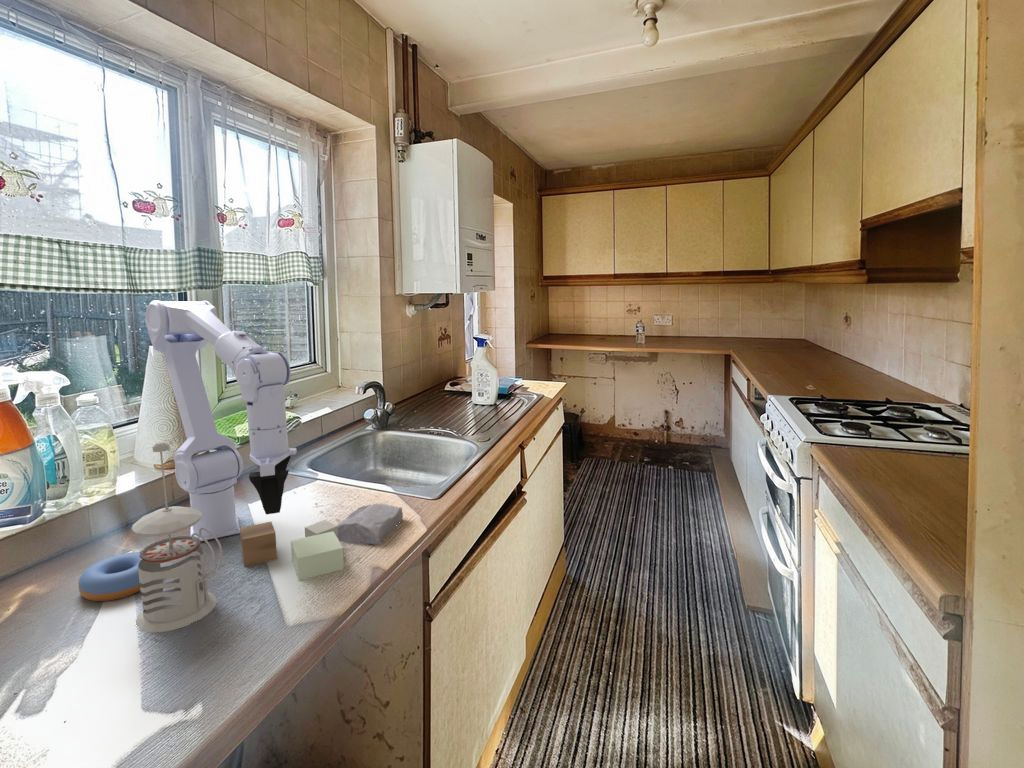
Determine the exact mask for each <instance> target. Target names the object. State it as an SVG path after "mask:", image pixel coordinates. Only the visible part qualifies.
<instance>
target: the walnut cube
mask: <svg viewBox="0 0 1024 768" xmlns="http://www.w3.org/2000/svg"><path fill="white" fill-rule="evenodd" d="M239 535H240V548H241V549H240V550H241V557H242V561H243V567H244V568H246V567H251V566H255V565H259V564H263V563H268V562H271V561H275V560H278V554H277V553H278V551H277V536H276V530H275V527H274V525H273V522H272V521H267V522H261V523H257V524H254V525H247V526H242V527H240V533H239Z"/></svg>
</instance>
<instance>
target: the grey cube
mask: <svg viewBox="0 0 1024 768" xmlns="http://www.w3.org/2000/svg"><path fill="white" fill-rule="evenodd" d="M332 531H334V533H335V535H336V537H337V538H338V533H337V525H336V524H333V522H329V521H328V520H325V519H324V520H320V521H318V522H316V523H312V524H310V525H307V526H305V527H304V537H309V536H314V535H318V534H323V533H328V532H332Z"/></svg>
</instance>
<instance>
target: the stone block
mask: <svg viewBox="0 0 1024 768" xmlns="http://www.w3.org/2000/svg"><path fill="white" fill-rule="evenodd" d="M403 515H404V514H403V508H402V507H398V506H394V505H389V504H385V503H374V504H367V505H363V506H361V507H358V508H357V509H356V510H354V511H352V512H351V513H349V514H348V515H347V517H345V519H344V520H343V521H342V522H341V521H340V523H338V524H337V525H336V526H337V533H338V540H339V542H343V543H347V544H361V543H362V544H363V545H372V544H373V546H377V544H378V545H379V543H380V542H381V543H382V542H383V541H384V540H385V539H386V538H387V537H388V536H389V535H390V534H391V533H392V532H393V531H394V529H395V528H397V527H396V525H398V524H399V522H400V521H401V520H402V521H403V517H404V516H403ZM402 521H401V522H402ZM401 522H400V523H401ZM399 525H400V524H399ZM399 525H398V526H399ZM392 530H393V531H392ZM391 531H392V532H391ZM390 532H391V533H390ZM389 533H390V534H389ZM388 534H389V535H388ZM387 535H388V536H387ZM386 536H387V537H386ZM385 537H386V538H385ZM384 538H385V539H384ZM383 539H384V540H383ZM381 543H380V544H381Z"/></svg>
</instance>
